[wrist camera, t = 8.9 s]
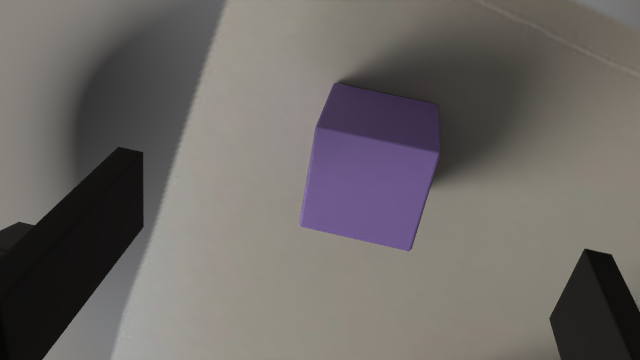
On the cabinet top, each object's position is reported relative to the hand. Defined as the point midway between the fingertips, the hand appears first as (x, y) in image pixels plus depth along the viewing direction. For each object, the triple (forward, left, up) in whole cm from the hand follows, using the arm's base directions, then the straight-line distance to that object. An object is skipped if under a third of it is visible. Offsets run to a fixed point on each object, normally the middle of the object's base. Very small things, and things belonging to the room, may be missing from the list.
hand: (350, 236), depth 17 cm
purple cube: (0, 0, -6) cm, 6 cm away
